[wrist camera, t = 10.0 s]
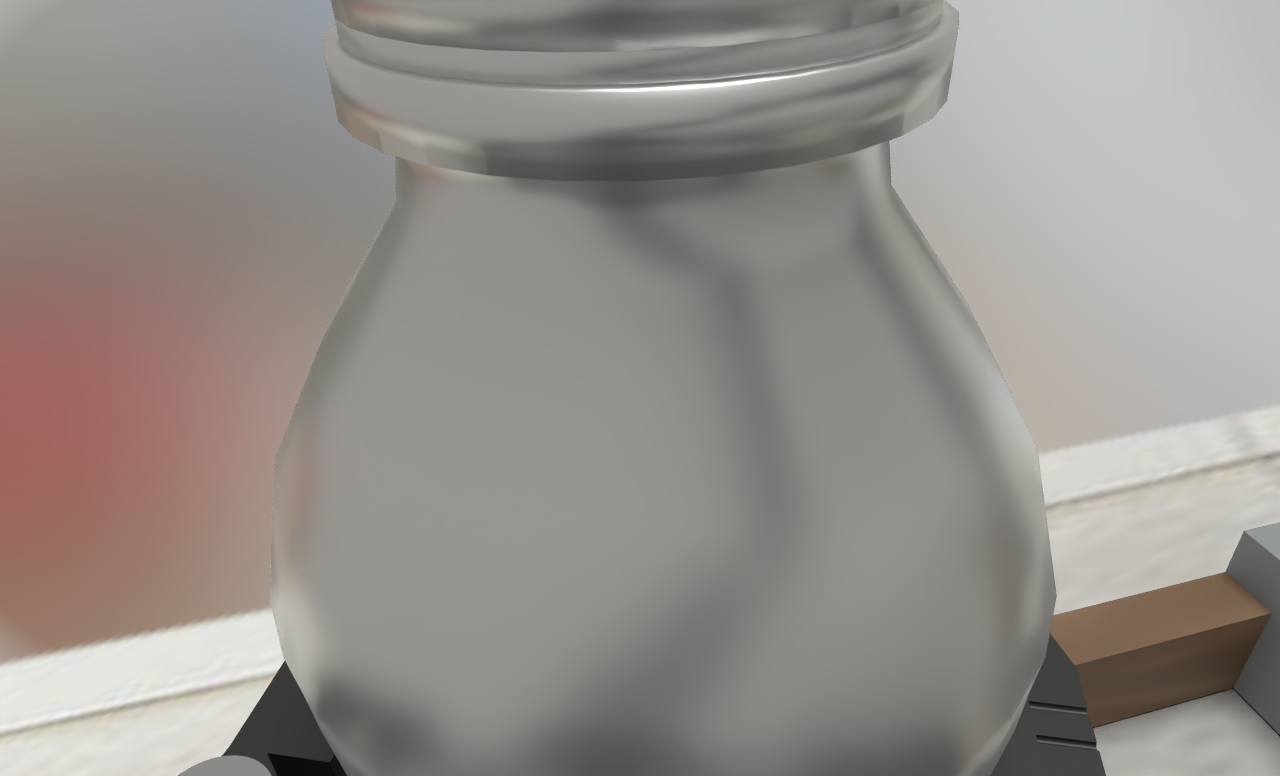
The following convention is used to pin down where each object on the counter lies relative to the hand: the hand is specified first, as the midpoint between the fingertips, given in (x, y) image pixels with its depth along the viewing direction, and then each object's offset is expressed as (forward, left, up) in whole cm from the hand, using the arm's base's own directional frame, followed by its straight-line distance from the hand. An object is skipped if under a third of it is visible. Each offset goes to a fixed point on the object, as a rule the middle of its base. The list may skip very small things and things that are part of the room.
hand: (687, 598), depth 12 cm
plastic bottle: (+2, +1, -11) cm, 11 cm away
